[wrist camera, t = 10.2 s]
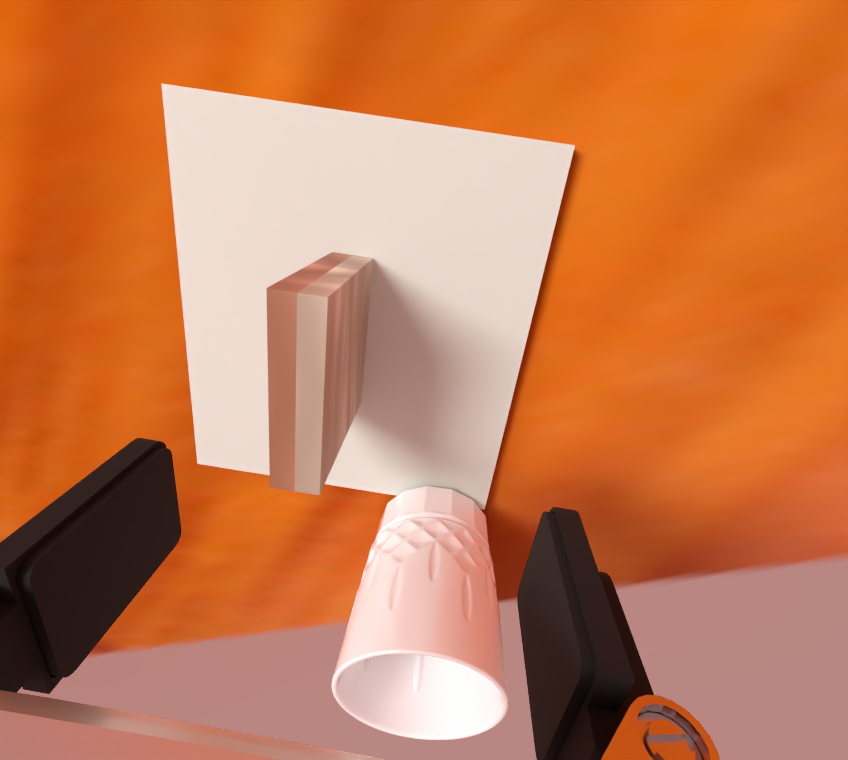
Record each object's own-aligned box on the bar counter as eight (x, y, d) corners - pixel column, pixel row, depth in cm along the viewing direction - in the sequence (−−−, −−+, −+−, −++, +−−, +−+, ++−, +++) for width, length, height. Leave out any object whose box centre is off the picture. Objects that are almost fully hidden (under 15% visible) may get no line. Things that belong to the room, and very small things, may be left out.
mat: (572, 146, 19) (575, 145, 19) (484, 503, 28) (484, 509, 27) (169, 86, 20) (161, 83, 19) (202, 458, 28) (197, 463, 27)
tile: (373, 258, 21) (327, 297, 14) (361, 402, 25) (319, 495, 17) (332, 252, 21) (266, 287, 14) (325, 397, 25) (269, 487, 17)
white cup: (475, 465, 25) (477, 641, 17) (510, 553, 29) (528, 736, 20) (353, 491, 27) (299, 662, 19) (400, 571, 31) (373, 744, 22)
